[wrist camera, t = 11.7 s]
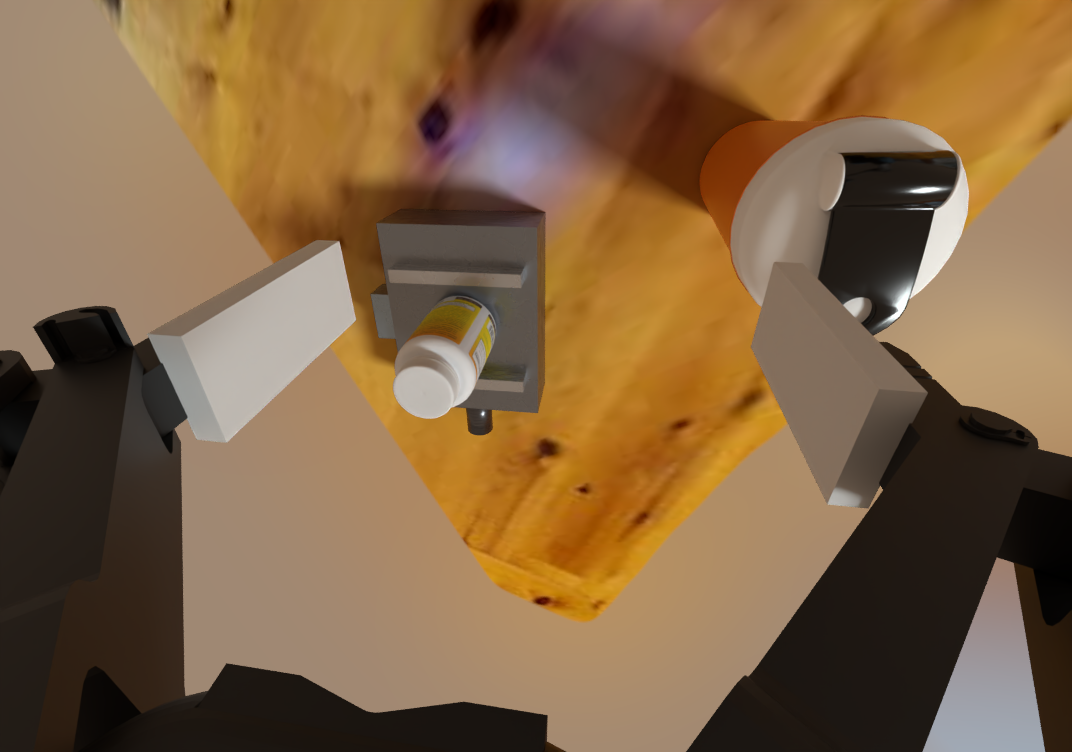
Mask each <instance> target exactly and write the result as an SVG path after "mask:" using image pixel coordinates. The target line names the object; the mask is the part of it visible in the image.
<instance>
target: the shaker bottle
mask: <svg viewBox="0 0 1072 752" xmlns="http://www.w3.org/2000/svg"><path fill="white" fill-rule="evenodd" d="M700 191H701V196H702V199H703V201H704V204H705V205H706V207H707V209H708V211H709V213H710V215H711V217H712V219H713V220H714V222H715V224H716V226H717V228H718V230H719V232H720V234H721V235H722V237H723V239H724V241H725V243H726V245H727V247H728V249H729V250H730V254H731V261H732V264H733V267H734V269H735V272H736V274H737V277H738V279H739V280H740V281H741V283H742V284H743V286H744V287H745V289H746V290H747V291H748V292H749V293H750V294H751V296H752V297H753V299H754V300H755V301H756V303H757V304H758V305H760V306H761V307H762V304H763V301H764V297H765V293H766V289H767V286H768V282H769V278H770V275H771V271H772V267H773V263H774V262H790V263H803V264H804V265H805V266H806V267H807V268H808V269H809V270H810V271H811V273H812V274H813V275H814V276H815V277H816V278H817V279H818V280H819V281H820V282H821V283H822V284H823V285H824V286H825V287H826V288H827V289H828V290H829V291H830V292H831V293H832V294H833V295H834V296H835V297H836V298H837V299H838V300H839V301H840V302H841V303H842V305H843V306H844V307H845V308H846V309H847V310H848V311H849V312H850V313H851V314H852V315H853V316H854V317H855V318H856V319H857V320H858V321H859V322H860V323H861V324H862V325H863V326H864V327H865V328H866V329H867V330H868V331H869V332H870V333H871V334H872V335H875V334H877V333H879V332H881V331H882V330H884V329H886V328H887V327H889V326H890V325H891V324H892V323H894V322H895V321H896V320H897V319H899V318H900V316H901V315H902V313H903V312H904V311H905V309H906V307H907V304H908V301H909V299H910V298H912V297H913V296H914V295H915V294H917V293H918V292H920V291H921V290H922V289H923V288H924V287H925V286H926V285H927V284H928V283H929V282H930V281H931V280H932V279H933V278H934V277H935V276H936V275H937V273H938V272H939V271H940V270H941V268H942V267H943V265H944V264H945V262H946V261H947V260H948V259H949V257H950V256H951V254H952V252H953V250H954V248H955V246H956V244H957V242H958V240H959V238H960V236H961V234H962V230H963V227H964V223H965V220H966V217H967V212H968V198H969V190H968V184H967V178H966V173H965V170H964V168H963V166H962V161H961V158H960V156H959V155H958V154H957V153H956V152H955V151H954V150H953V149H952V148H951V147H950V146H949V144H948V143H947V142H946V141H945V140H944V139H943V138H942V137H940V136H939V135H937V134H935V133H934V132H932V131H931V130H929V129H927V128H926V127H923V126H920V125H917V124H914V123H910V122H907V121H904V120H895V119H889V118H886V117H877V116H863V115H861V116H854V117H846V118H838V119H835V120H832V121H829V122H826V121H762V120H759V121H752V122H747V123H744V124H741V125H738V126H736V127H735V128H733V129H731V130H729V131H728V132H727V133H725V134H724V135H723V136H722V137H720V138H719V139H718V140H717V142H716V143H715V144H714V145H713V146H712V148H711V149H710V151H709V152H708V154H707V155H706V158H705V160H704V162H703V165H702V169H701V173H700Z"/></svg>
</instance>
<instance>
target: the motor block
mask: <svg viewBox="0 0 1072 752" xmlns="http://www.w3.org/2000/svg"><path fill="white" fill-rule="evenodd" d="M376 225H377V231H378V237H379V243H380V249H381V255H382V261H383V267H384V273H385V279H386V284H382V285H381V286H379V287H378V288H377V289H376V290H375V291H374V292H372V293H371V299H372V305H373V310H374V315H375V321H376V326H377V331H378V337H379V338H390V339H396V344H397V350H398V352H399V351H400V349H401V348H402V346H403V345H404V344H405V343H406V341H407V340H408V339H409V338H410V336H411V335H412V334H413V332H414V331H415V330H416V329H417V327H418V326H419V325H420V324H421V322H422V321H423V320H424V319H425V317H426V316H427V315H428V314H429V312H430V311H431V310H432V308H433V307H434V306H435V305H436V304H437V303H438V302H440V301H441V300H443V299H445V298H448V297H451V296H466V297H469V298H472V299H474V300H477V301H478V302H480V303H481V304H483V305H484V306H485V307H486V308H487V309H488V310H489V312H490V313H491V315H492V317H493V319H494V321H495V325H496V338H495V342H494V344H493V347H492V349H491V351H490V353H489V356H488V358H487V360H486V362H485V365H484V367H483V369H482V371H481V374H480V376H479V378H478V380H477V383H476V385H475V387H474V389H473V391H472V393H471V394H470V396H469V397H468V398H467V399H466V400H465V401H464V402H462V403H461V404H459V405H457V406H455V407H461V408H466V412H467V423H468V431H469V432H470V433H471V434H474V435H485V434H487V433H489V432H491V430H492V429H493V423H492V410H503V411H517V412H531V413H538V411H539V406H540V402H541V397H542V393H543V388H544V384H545V212H509V211H466V210H423V209H400V210H398V211H397V212H395V213H393V214H391V215H390V216H388V217H386V218H384V219H383V220H381V221H379V222H377V223H376Z"/></svg>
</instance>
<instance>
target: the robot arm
mask: <svg viewBox="0 0 1072 752" xmlns="http://www.w3.org/2000/svg"><path fill="white" fill-rule="evenodd" d="M355 321H356V317H355V313H354V308H353V303H352V298H351V294H350V289H349V284H348V280H347V275H346V270H345V265H344V261H343V256H342V251H341V246H340V242H339V241H328V240H316V241H314V242H312V243H310V244H308V245H307V246H305V247H303V248H301V249H299V250H298V251H296V252H294V253H292V254H290V255H289V256H287V257H285V258H283V259H281V260H280V261H278V262H276V263H274V264H272V265H271V266H269V267H267V268H265V269H263V270H262V271H260V272H258V273H256V274H254V275H253V276H251V277H249V278H247V279H245V280H244V281H242V282H240V283H238V284H236V285H235V286H233V287H231V288H229V289H227V290H225V291H224V292H222V293H220V294H218V295H217V296H215V297H213V298H211V299H209V300H207V301H206V302H204V303H202V304H200V305H198V306H197V307H195V308H193V309H191V310H189V311H188V312H186V313H184V314H182V315H180V316H179V317H177V318H175V319H173V320H171V321H170V322H168V323H166V324H164V325H162V326H161V327H159V328H157V329H155V330H153V331H152V332H150V333H148V334H147V335H148V337H149V338H147V339H145V340H144V341H142V342H140V343H138V344H137V345H135V346H133V344H132V342H131V340H130V338H129V336H128V334H127V332H126V330H125V328H124V326H123V324H122V322H121V320H120V318H119V316H118V314H117V312H116V310H115V308H111V307H107V306H93V307H85V308H78V309H74V310H69V311H65V312H62V313H59V314H55V315H53V316H50V317H48V318H46V319H43V320H42V321H39V322H38V323H37V324H36V325H35V326H34V327H33V328H34V329H35V331H36V333H37V334H38V336H39V338H40V339H41V341H42V343H43V344H44V346H45V348H46V349H47V351H48V353H49V354H50V356H51V358H52V359H53V361H54V363H55V365H54V367H53V369H49V370H38V371H32V370H31V369H30V367H29V366H28V364H27V362H26V361H25V359H24V358H23V356H22V355H21V353H20V352H17V351H12V350H7V351H0V752H566V751H564V750H562V749H560V748H558V747H556V746H554V745H553V744H551V743H549V742H547V715H543V714H536V713H530V712H524V711H518V710H512V709H505V708H499V707H493V706H486V705H481V704H474V703H468V702H458V703H451V704H443V705H435V706H427V707H420V708H413V709H405V710H396V711H388V712H380V713H373V712H368V711H365V710H363V709H361V708H359V707H357V706H355V705H354V704H352V703H350V702H348V701H346V700H344V699H342V698H341V697H339V696H337V695H335V694H334V693H332V692H330V691H328V690H326V689H324V688H322V687H321V686H319V685H317V684H315V683H313V682H312V681H310V680H308V679H306V678H304V677H302V676H301V675H295V674H289V673H283V672H277V671H270V670H264V669H258V668H252V667H246V666H239V665H233V664H226V665H225V667H224V668H223V670H222V671H221V673H220V674H219V676H218V677H217V679H216V680H215V682H214V683H213V685H212V686H211V688H210V689H209V691H205V692H201V693H197V694H193V695H189V696H185V688H184V634H183V633H184V630H183V561H182V493H181V492H182V491H181V442H180V440H179V438H178V435H177V433H176V431H175V429H174V428H175V427H177V426H178V425H179V424H180V423H182V422H183V421H184V420H185V419H187V420H188V422H189V424H190V426H191V428H192V431H193V433H194V435H195V437H196V439H198V440H207V441H218V442H228V441H229V440H230V439H231V438H232V437H233V436H234V435H235V434H236V433H237V432H238V431H239V430H240V429H241V428H242V427H243V426H245V425H246V424H247V423H248V421H250V420H251V419H252V418H253V417H254V416H255V415H256V414H257V413H258V412H259V411H260V410H262V409H263V408H264V407H265V406H266V405H267V404H268V403H269V402H270V401H271V400H272V399H273V398H274V397H275V396H276V395H277V394H278V393H280V392H281V391H282V390H283V389H284V388H285V387H286V386H287V385H288V384H289V383H290V382H291V381H292V380H293V379H294V378H295V377H297V376H298V374H300V373H301V372H302V371H303V370H304V369H305V368H306V367H307V366H308V365H309V364H310V363H311V362H312V361H313V360H314V359H316V358H317V356H319V355H320V354H321V353H322V352H323V351H324V350H325V349H326V348H327V347H328V346H329V345H330V344H331V343H333V342H334V341H335V340H336V339H337V338H338V337H339V336H340V335H341V334H342V333H343V332H344V331H345V330H346V329H347V328H348V327H349V326H351V325H352V324H353V323H354V322H355ZM751 348H752V350H753V352H754V354H755V356H756V358H757V360H758V363H759V365H760V367H761V369H762V371H763V373H764V375H765V377H766V379H767V381H768V383H769V385H770V387H771V389H772V391H773V393H774V396H775V398H776V400H777V402H778V404H779V406H780V408H781V410H782V412H783V414H784V416H785V418H786V420H787V422H788V424H789V426H790V429H791V431H792V433H793V435H794V437H795V439H796V441H797V443H798V445H799V447H800V449H801V451H802V453H803V455H804V457H805V459H806V462H807V464H808V466H809V468H810V470H811V472H812V474H813V476H814V478H815V480H816V482H817V484H818V486H819V488H820V490H821V493H822V494H823V497H824V499H825V501H826V503H827V504H830V505H840V506H849V507H860V508H869V506H870V504H871V502H872V500H873V498H874V496H875V494H876V492H877V491H878V488H879V487H880V486H881V487H882V489H883V491H882V493H881V494H880V496H879V497H878V499H877V500H876V501H875V503H874V504H873V506H872V507H871V508H870V510H869V511H868V512H867V514H866V515H865V517H864V518H863V519H862V521H861V522H860V524H859V525H858V526H857V528H856V529H855V531H854V532H853V533H852V535H851V536H850V538H849V539H848V540H847V542H846V543H845V545H844V546H843V547H842V549H841V550H840V551H839V553H838V554H837V556H836V557H835V558H834V560H833V561H832V563H831V564H830V565H829V567H828V568H827V570H826V571H825V573H824V574H823V575H822V577H821V578H820V580H819V581H818V582H817V583H816V585H815V586H814V588H813V589H812V590H811V592H810V594H809V595H808V596H807V597H806V599H805V600H804V602H803V603H802V604H801V606H800V607H799V609H798V610H797V612H796V613H795V614H794V616H793V617H792V619H791V620H790V621H789V623H788V624H787V625H786V627H785V628H784V630H783V631H782V632H781V634H780V635H779V637H778V638H777V639H776V641H775V642H774V643H773V645H772V646H771V648H770V649H769V651H768V652H767V653H766V655H765V656H764V658H763V659H762V660H761V662H760V663H759V665H758V666H757V667H756V668H755V670H754V671H753V672H752V673H751V674H750V676H748V677H747V676H744V677H743V678H742V679H741V680H740V681H739V682H738V683H737V684H736V685H735V686H734V688H733V689H732V690H731V692H730V693H729V694H728V695H727V697H726V698H725V699H724V701H723V702H722V703H721V705H720V706H719V708H718V709H717V710H716V712H715V713H714V714H713V716H712V717H711V719H710V720H709V721H708V723H707V724H706V725H705V727H704V728H703V729H702V731H701V732H700V734H699V735H698V736H697V738H696V739H695V740H694V742H693V743H692V745H691V746H690V747H689V749H688V750H687V751H686V752H922V751H923V749H924V746H925V743H926V741H927V738H928V736H929V733H930V730H931V728H932V725H933V722H934V720H935V717H936V715H937V712H938V709H939V707H940V704H941V702H942V699H943V696H944V694H945V691H946V688H947V686H948V683H949V681H950V678H951V675H952V672H953V670H954V667H955V664H956V662H957V659H958V657H959V654H960V651H961V649H962V647H963V644H964V641H965V639H966V636H967V633H968V631H969V628H970V625H971V623H972V620H973V618H974V615H975V612H976V610H977V607H978V605H979V602H980V599H981V597H982V594H983V592H984V589H985V586H986V584H987V581H988V579H989V576H990V573H991V570H992V568H993V565H994V563H995V560H996V558H997V557H998V558H1001V559H1004V560H1007V561H1010V562H1013V563H1014V567H1015V573H1016V579H1017V585H1018V591H1019V597H1020V603H1021V609H1022V615H1023V621H1024V627H1025V633H1026V639H1027V645H1028V651H1029V657H1030V663H1031V669H1032V675H1033V681H1034V687H1035V693H1036V699H1037V704H1038V710H1039V717H1040V723H1041V729H1042V734H1043V740H1044V747H1045V752H1072V457H1069V456H1065V455H1061V454H1056V453H1052V452H1048V451H1044V450H1040V449H1038V448H1039V447H1038V441H1037V438H1035V436H1034V435H1033V434H1032V433H1031V432H1030V431H1029V430H1028V429H1026V428H1025V427H1023V426H1022V425H1020V424H1018V423H1017V422H1015V421H1014V420H1011V419H1009V418H1007V417H1004V416H1002V415H1000V414H997V413H995V412H991V411H988V410H984V409H981V408H977V407H969V406H962V405H960V403H959V402H957V400H956V399H954V398H953V397H952V396H951V395H950V394H949V393H948V392H947V391H946V390H945V389H944V388H943V387H942V386H941V385H940V384H939V383H938V382H937V381H936V380H933V379H932V376H931V375H930V374H929V373H928V372H927V371H926V370H925V369H921V366H920V365H919V364H918V363H917V362H916V361H915V360H914V359H913V358H912V357H911V356H910V355H909V354H908V353H906V352H904V351H902V350H900V349H899V348H897V347H895V346H893V345H891V344H890V343H888V342H878V341H877V340H876V339H875V338H874V337H873V335H872V334H871V333H870V332H869V331H868V330H867V329H866V328H865V327H864V326H863V325H862V324H861V323H860V322H859V321H858V320H857V319H856V318H855V317H854V316H853V315H852V314H851V313H850V312H849V311H848V310H847V309H846V308H845V307H844V306H843V305H842V303H841V302H840V301H839V300H838V299H837V298H836V297H835V296H834V295H833V294H832V293H831V292H830V291H829V290H828V289H827V288H826V287H825V286H824V285H823V284H822V283H821V282H820V281H819V280H818V279H817V278H816V277H815V276H814V275H813V274H812V273H811V271H810V270H809V269H808V268H807V267H806V266H805V265H804V264H803V263H790V262H774V263H773V267H772V271H771V275H770V278H769V282H768V286H767V289H766V293H765V297H764V301H763V304H762V308H761V312H760V315H759V319H758V323H757V327H756V330H755V334H754V338H753V341H752V345H751Z"/></svg>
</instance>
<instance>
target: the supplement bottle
mask: <svg viewBox="0 0 1072 752" xmlns="http://www.w3.org/2000/svg"><path fill="white" fill-rule="evenodd" d="M495 338H496V325H495V321H494V319H493V317H492V315H491V313H490V312H489V310H488V309H487V308H486V307H485V306H484V305H483V304H481V303H480V302H478V301H477V300H474V299H472V298H469V297H466V296H451V297H448V298H445V299H443V300H441V301H440V302H438V303H437V304H436V305H435V306H434V307H433V308H432V310H431V311H430V312H429V314H428V315H427V316H426V317H425V319H424V320H423V321H422V322H421V324H420V325H419V326H418V327H417V329H416V330H415V331H414V332H413V334H412V335H411V336H410V338H409V339H408V340H407V341H406V343H405V344H404V345H403V346H402V348H401V349H400V351H399V352H398V355H397V357H396V361H395V374H396V377H395V379H394V382H393V391H394V395H395V398H396V400H397V401H398V403H399V404H400V405H401V406H402V407H403V408H404V409H405V410H406V411H407V412H409V413H411V414H412V415H415V416H417V417H421V418H428V419H430V418H437V417H440V416H442V415H444V414H445V413H447V412H448V411H449V410H450V408H451V407H455V406H457V405H459V404H461V403H462V402H464V401H465V400H466V399H467V398H468V397H469V396H470V394H471V393H472V391H473V389H474V387H475V385H476V383H477V380H478V378H479V376H480V374H481V371H482V369H483V367H484V365H485V362H486V360H487V358H488V356H489V353H490V351H491V349H492V347H493V344H494V342H495Z"/></svg>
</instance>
